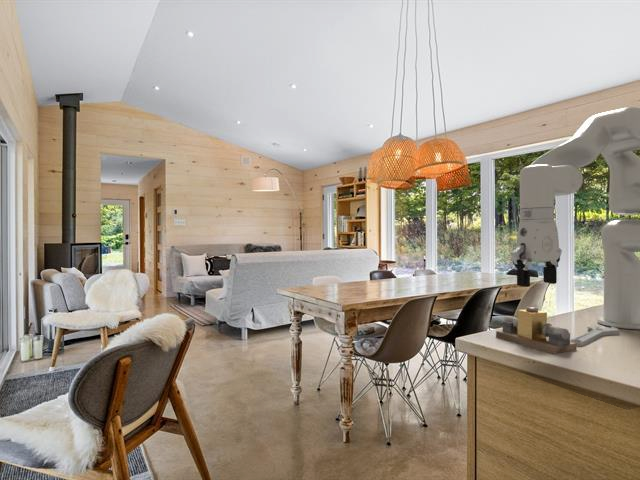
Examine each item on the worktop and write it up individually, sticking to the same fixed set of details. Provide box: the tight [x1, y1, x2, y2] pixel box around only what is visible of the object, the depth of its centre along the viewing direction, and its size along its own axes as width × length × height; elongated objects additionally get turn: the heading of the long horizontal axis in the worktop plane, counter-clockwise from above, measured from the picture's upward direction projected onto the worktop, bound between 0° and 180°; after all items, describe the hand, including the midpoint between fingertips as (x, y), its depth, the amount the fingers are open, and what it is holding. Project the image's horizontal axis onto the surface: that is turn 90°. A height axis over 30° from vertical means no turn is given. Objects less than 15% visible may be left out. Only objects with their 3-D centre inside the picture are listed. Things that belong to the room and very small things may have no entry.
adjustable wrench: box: [570, 324, 620, 347], centre depth 107 cm, size 25×6×2 cm, turn 125°
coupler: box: [517, 306, 548, 340], centre depth 100 cm, size 4×4×7 cm
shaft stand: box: [495, 315, 577, 355], centre depth 100 cm, size 8×16×6 cm, turn 25°
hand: (536, 284), depth 100 cm, fingers open, 9 cm apart
